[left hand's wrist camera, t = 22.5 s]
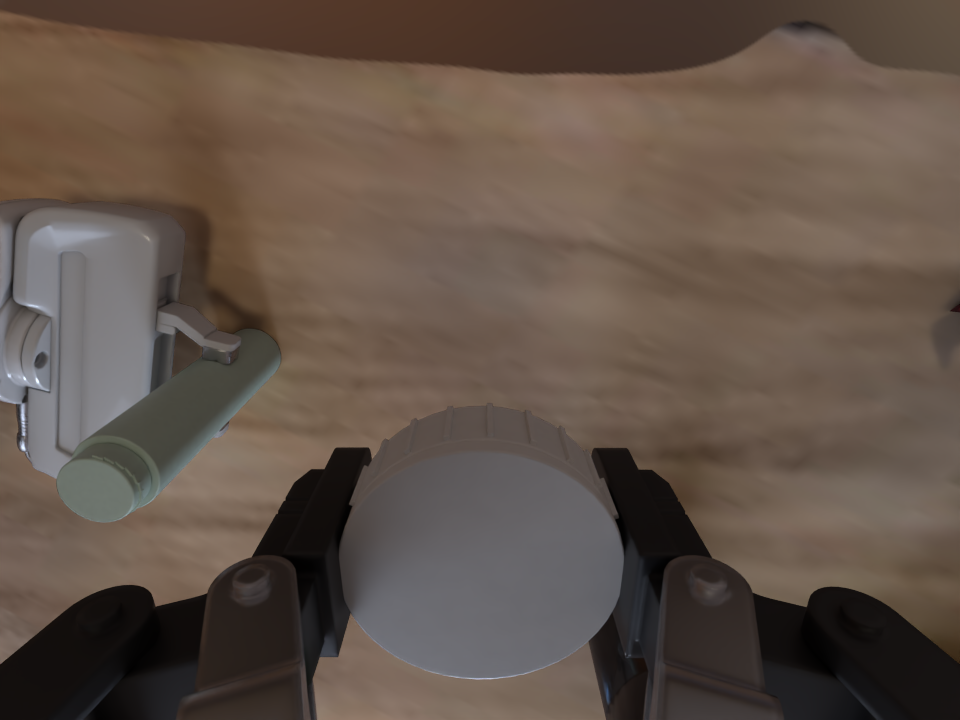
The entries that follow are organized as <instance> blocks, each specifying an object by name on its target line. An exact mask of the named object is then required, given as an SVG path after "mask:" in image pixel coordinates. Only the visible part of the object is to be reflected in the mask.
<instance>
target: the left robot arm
mask: <svg viewBox="0 0 960 720" xmlns="http://www.w3.org/2000/svg"><path fill="white" fill-rule="evenodd" d="M591 457H592V460H593V463H594V465H595V468H596V471H597V474H598V476H599V478H600V479H601V478H604V480H605V482H606V485H607V487H608V490H609V492H610V495H611V498H612V500H613V503H614V505H615V508H616V511H617V513H618V516H619V518H618V519H615V521H616V523H617V526H618V529H619V531H620V535H621V538H622V542H623V546H624V564H623V573H622V581H621V589H620V596H619V598H618V601H617V603H616V606H615V608H614V609H613V611H612V613H611V615H610V616H609V618H608V620H607V621H606V622H605V623H604V625H603V626H602V627H601V628H600V630H599V631H598V632H597V633H596V634H595V635H594V636H593V637H592V638H591V639H590V640H589V645H590V650H591V654H592V659H593V663H594V668H595V672H596V677H597V681H598V685H599V690H600V694H601V699H602V703H603V708H604V712H605V716H606V720H960V664H959V663H957V662H956V661H955V660H954V659H952V658H951V657H950V656H949V655H948V654H946V653H945V652H944V651H943V650H942V649H940V648H939V647H938V646H937V645H936V644H934V643H933V642H932V641H931V640H930V639H928V638H927V637H926V636H925V635H923V634H922V633H921V632H920V631H919V630H917V629H916V628H915V627H914V626H913V625H911V624H910V623H909V622H908V621H907V620H905V619H904V618H903V617H902V616H901V615H899V614H898V613H897V612H896V611H894V610H893V609H892V608H890V607H889V606H887V605H886V604H884V603H883V602H881V601H879V600H877V599H875V598H873V597H871V596H869V595H867V594H864V593H862V592H859V591H856V590H852V589H848V588H842V587H824V588H821V589H818V590H816V591H814V592H813V593H812V594H811V596H810V598H809V601H808V605H807V607H803V606H799V605H795V604H791V603H787V602H782V601H778V600H774V599H770V598H766V597H763V596H760V595H757V594H755V593H752V590H751V588H750V586H749V584H748V583H747V581H746V580H745V579H744V578H743V577H742V576H741V574H739V573H738V572H737V571H736V570H734V569H733V568H731V567H730V566H728V565H726V564H724V563H722V562H720V561H718V560H715V559H712V557H711V555H710V554H709V552H708V550H707V548H706V547H705V545H704V543H703V541H702V540H701V538H700V536H699V535H698V533H697V531H696V529H695V528H694V526H693V524H692V523H691V521H690V519H689V517H688V516H687V515H685V510H684V509H683V507H682V505H681V504H680V502H678V498H677V497H676V495H675V493H674V492H673V490H672V488H671V486H670V485H669V483H668V482H667V481H665V480H664V479H663V478H661V477H660V476H659V475H658V474H656V473H655V472H654V471H652V470H638V468H637V466H636V464H635V462H634V460H633V458H632V456H631V454H630V452H629V450H628V449H627V448H594V449H593V451H592V456H591ZM371 461H372V458H371V452H370V449H369V448H335V450H334V451H333V453H332V455H331V457H330V459H329V461H328V463H327V465H326V467H325V469H311V470H310V471H308V472H307V473H306V474H305V475H303V476H302V477H301V478H300V479H298V480H297V481H296V482H295V483H294V484H293V486H292V488H291V489H290V491H289V493H288V495H287V496H286V500H285V501H284V502H283V503H282V505H281V507H280V509H279V510H278V514H276V516H275V517H274V519H273V521H272V523H271V524H270V526H269V528H268V530H267V531H266V533H265V535H264V537H263V538H262V540H261V542H260V544H259V545H258V547H257V549H256V551H255V552H254V554H253V556H252V557H251V558H248V559H245V560H242V561H240V562H238V563H236V564H234V565H232V566H230V567H229V568H227V569H226V570H224V571H223V572H222V573H221V574H220V575H219V576H218V577H217V578H216V579H215V580H214V581H213V583H212V584H211V586H210V588H209V590H208V593H207V594H204V595H201V596H198V597H194V598H190V599H186V600H182V601H178V602H173V603H169V604H165V605H161V606H157V607H155V603H154V600H153V597H152V594H151V593H150V592H149V591H148V590H147V589H145V588H144V587H140V586H136V585H122V586H115V587H111V588H107V589H104V590H101V591H98V592H96V593H94V594H91V595H89V596H87V597H85V598H84V599H82V600H80V601H78V602H77V603H75V604H74V605H72V606H71V607H70V608H68V609H67V610H66V611H64V612H63V613H62V614H61V615H60V616H58V617H57V618H56V619H55V620H53V621H52V622H51V623H50V624H49V625H47V626H46V627H45V628H44V629H43V630H41V631H40V632H39V633H38V634H37V635H35V636H34V637H33V638H32V639H31V640H29V641H28V642H27V643H26V644H24V645H23V646H22V647H21V648H20V649H18V650H17V651H16V652H15V653H14V654H12V655H11V656H10V657H9V658H8V659H6V660H5V661H4V662H3V663H2V664H0V720H317V714H316V704H315V693H314V685H313V676H314V673H315V670H316V667H317V663H318V660H319V657H338V655H339V651H340V648H341V644H342V641H343V637H344V634H345V630H346V627H347V623H348V620H349V616H350V613H351V612H350V610H349V608H348V606H347V604H346V602H345V600H344V595H343V587H342V579H341V570H340V562H339V544H340V540H341V537H342V534H343V531H344V528H345V525H346V522H347V520H348V517H349V514H350V512H351V509H352V506H351V505H349V503H350V500H351V498H352V495H353V492H354V490H355V487H356V485H357V482H358V479H359V477H360V474H361V471H362V469H363V467H364V465H365V466H369V464H370V462H371Z"/></svg>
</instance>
